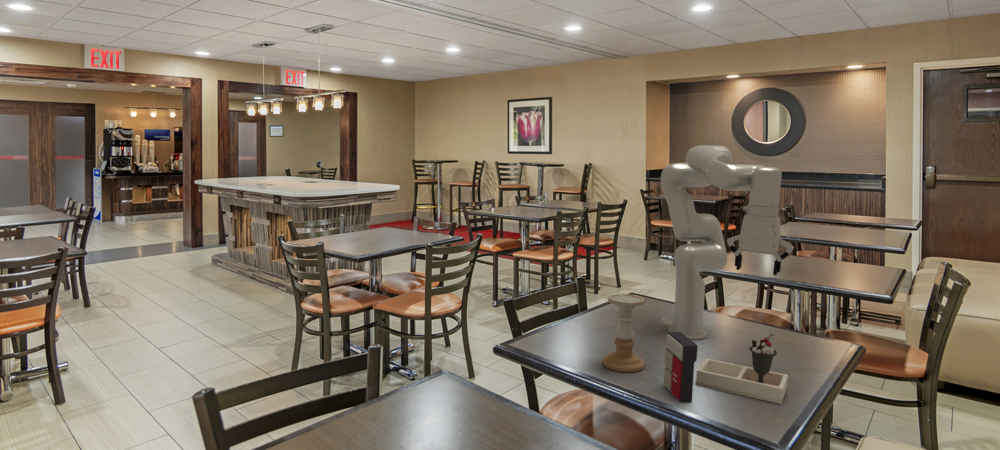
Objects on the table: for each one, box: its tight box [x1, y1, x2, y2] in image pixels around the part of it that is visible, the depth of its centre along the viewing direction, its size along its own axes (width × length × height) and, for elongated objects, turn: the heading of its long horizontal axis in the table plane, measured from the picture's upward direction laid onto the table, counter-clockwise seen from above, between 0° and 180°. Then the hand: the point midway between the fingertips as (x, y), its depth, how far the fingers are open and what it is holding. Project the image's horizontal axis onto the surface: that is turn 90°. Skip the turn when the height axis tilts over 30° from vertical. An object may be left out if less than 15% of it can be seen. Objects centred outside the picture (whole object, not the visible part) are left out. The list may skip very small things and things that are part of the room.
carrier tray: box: [695, 358, 789, 405], centre depth 153 cm, size 21×11×4 cm, turn 57°
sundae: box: [748, 333, 778, 383], centre depth 149 cm, size 7×7×15 cm
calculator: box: [663, 331, 699, 403], centre depth 147 cm, size 11×4×15 cm, turn 5°
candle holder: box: [601, 293, 646, 373], centre depth 166 cm, size 12×12×20 cm
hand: (756, 271), depth 160 cm, fingers open, 9 cm apart
